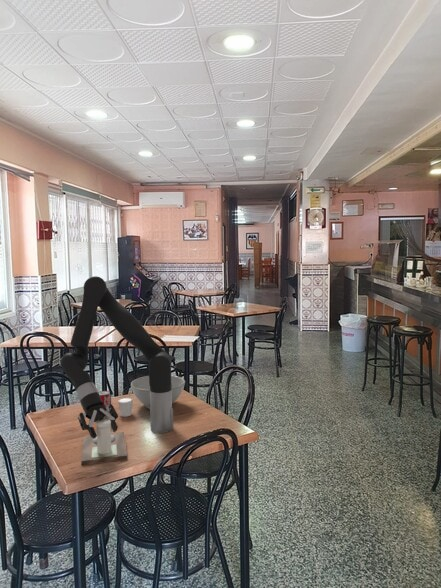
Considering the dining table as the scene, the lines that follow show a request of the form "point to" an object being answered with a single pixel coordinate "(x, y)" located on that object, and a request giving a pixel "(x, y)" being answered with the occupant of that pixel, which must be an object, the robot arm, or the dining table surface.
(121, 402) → the white tapered cup
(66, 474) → the dining table surface
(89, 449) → the post board
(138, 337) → the robot arm
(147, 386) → the decorative bowl
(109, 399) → the soda can
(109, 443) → the salt shaker
